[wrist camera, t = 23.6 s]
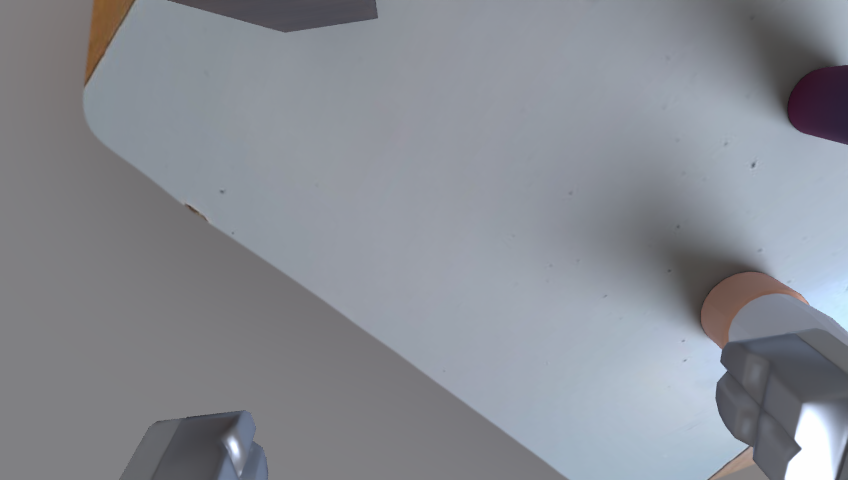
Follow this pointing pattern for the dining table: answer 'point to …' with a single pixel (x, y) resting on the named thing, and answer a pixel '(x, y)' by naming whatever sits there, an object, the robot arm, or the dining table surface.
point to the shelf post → (289, 12)
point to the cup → (822, 104)
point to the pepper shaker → (760, 310)
